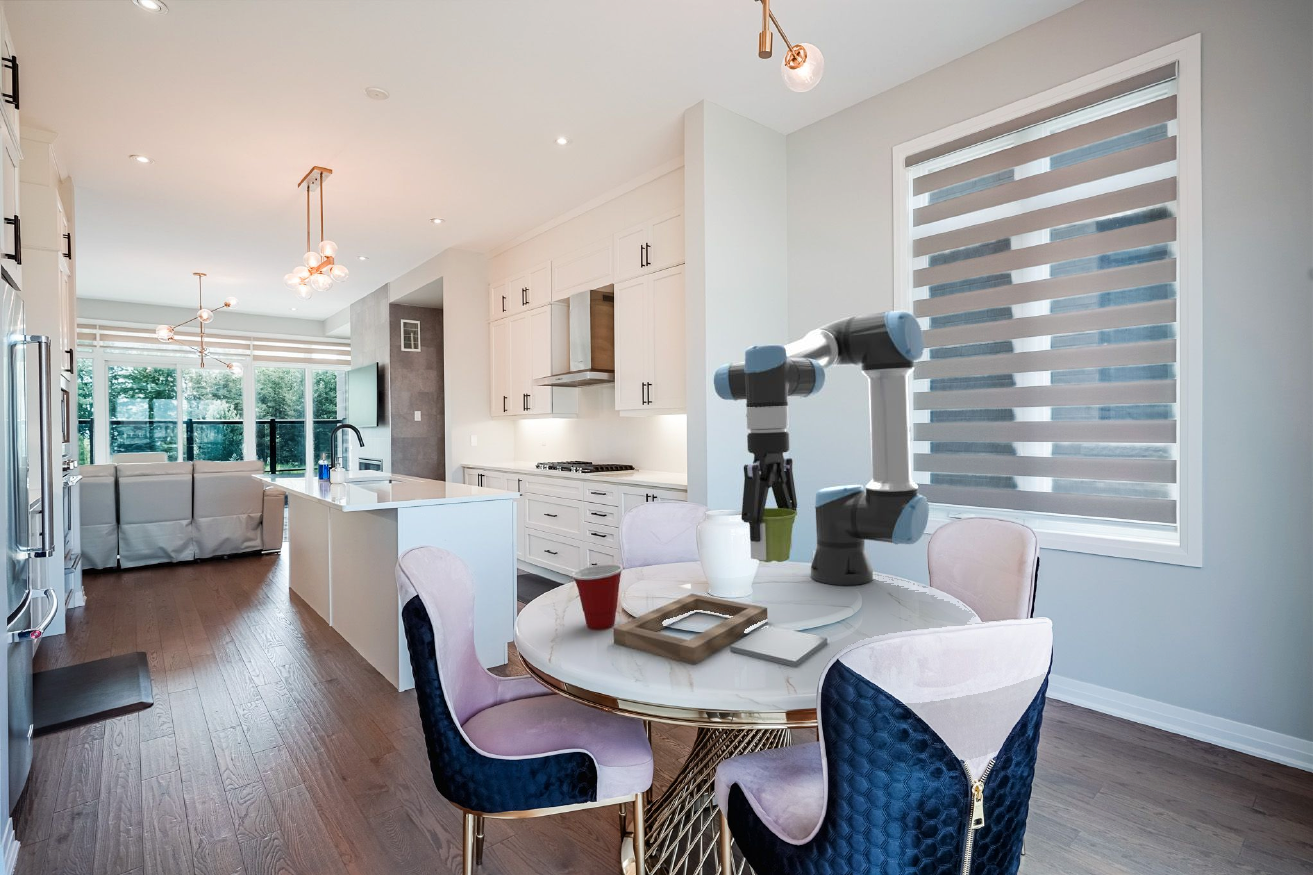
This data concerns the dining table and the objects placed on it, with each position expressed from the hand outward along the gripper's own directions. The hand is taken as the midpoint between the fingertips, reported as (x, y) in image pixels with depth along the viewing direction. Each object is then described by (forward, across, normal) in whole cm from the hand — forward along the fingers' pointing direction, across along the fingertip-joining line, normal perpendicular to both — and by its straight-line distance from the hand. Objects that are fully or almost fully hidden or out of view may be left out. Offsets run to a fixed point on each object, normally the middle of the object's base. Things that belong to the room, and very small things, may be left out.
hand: (772, 553), depth 118 cm
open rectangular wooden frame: (+17, +2, -17) cm, 25 cm away
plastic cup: (+18, +9, -36) cm, 41 cm away
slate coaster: (+17, 0, +1) cm, 17 cm away
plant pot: (+1, 0, 0) cm, 1 cm away
